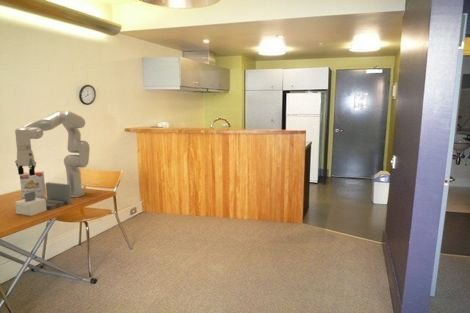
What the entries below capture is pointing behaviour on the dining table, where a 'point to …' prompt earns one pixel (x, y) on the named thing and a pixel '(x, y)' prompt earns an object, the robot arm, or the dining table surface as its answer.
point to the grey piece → (57, 195)
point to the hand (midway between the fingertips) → (26, 174)
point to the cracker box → (33, 184)
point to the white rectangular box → (30, 205)
